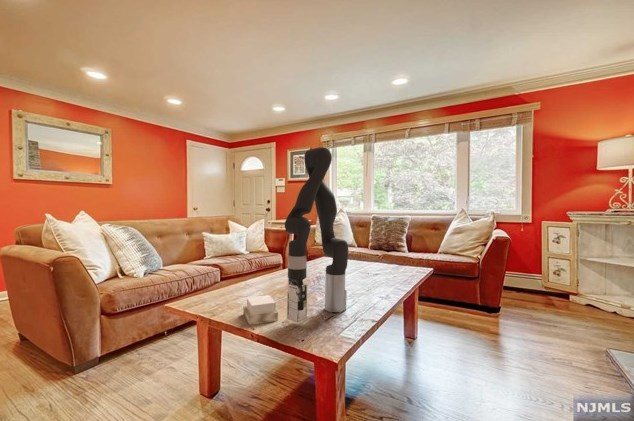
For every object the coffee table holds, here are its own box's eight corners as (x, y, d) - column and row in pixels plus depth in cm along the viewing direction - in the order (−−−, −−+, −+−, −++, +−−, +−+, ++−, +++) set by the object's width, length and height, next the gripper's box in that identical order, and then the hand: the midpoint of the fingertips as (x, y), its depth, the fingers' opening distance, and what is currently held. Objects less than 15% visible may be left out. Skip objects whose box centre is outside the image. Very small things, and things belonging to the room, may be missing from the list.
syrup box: (296, 314, 118) (296, 280, 118) (307, 318, 115) (307, 283, 114) (286, 319, 114) (287, 283, 113) (297, 323, 110) (297, 286, 110)
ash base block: (269, 311, 129) (270, 302, 129) (277, 321, 118) (278, 312, 118) (243, 315, 124) (243, 306, 124) (248, 326, 113) (249, 316, 113)
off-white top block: (269, 303, 128) (269, 295, 127) (275, 311, 119) (275, 302, 118) (246, 306, 123) (246, 297, 123) (251, 315, 114) (251, 305, 114)
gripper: (313, 269, 109) (312, 311, 109) (299, 261, 122) (298, 299, 122) (295, 271, 105) (294, 314, 106) (282, 263, 118) (282, 302, 119)
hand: (296, 306), depth 114 cm, fingers closed on syrup box, 7 cm apart
